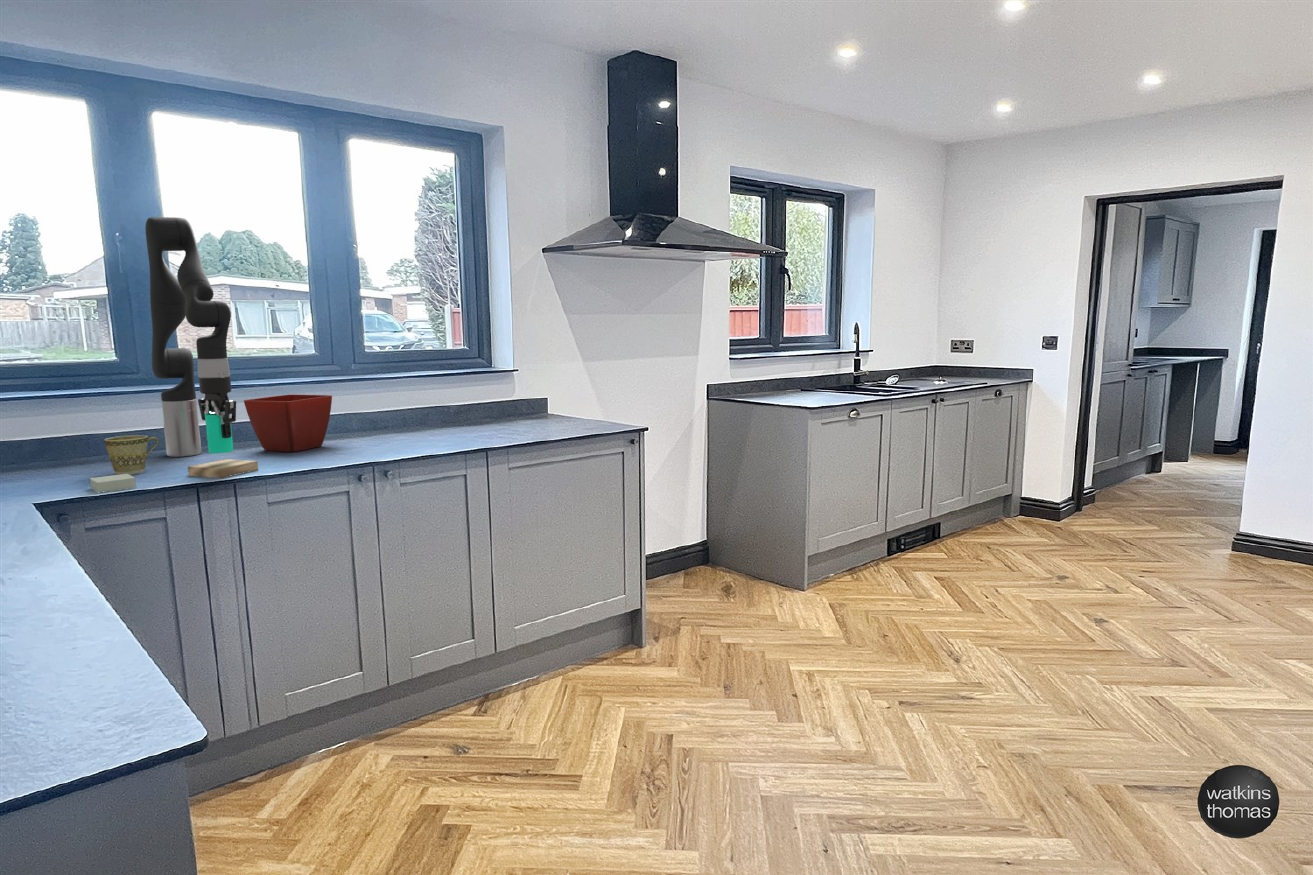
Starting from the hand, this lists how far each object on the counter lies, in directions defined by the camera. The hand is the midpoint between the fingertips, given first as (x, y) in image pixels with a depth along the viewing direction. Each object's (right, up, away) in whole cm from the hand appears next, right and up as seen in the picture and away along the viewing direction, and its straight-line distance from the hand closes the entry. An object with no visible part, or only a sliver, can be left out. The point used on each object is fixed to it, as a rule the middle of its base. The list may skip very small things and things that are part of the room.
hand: (220, 436), depth 214 cm
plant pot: (+1, -4, +41) cm, 41 cm away
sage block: (-17, -13, -17) cm, 28 cm away
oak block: (0, -10, +2) cm, 11 cm away
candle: (0, -4, +1) cm, 4 cm away
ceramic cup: (-25, -10, +3) cm, 27 cm away
